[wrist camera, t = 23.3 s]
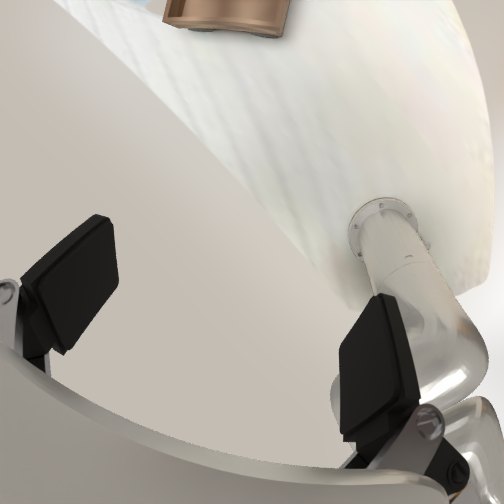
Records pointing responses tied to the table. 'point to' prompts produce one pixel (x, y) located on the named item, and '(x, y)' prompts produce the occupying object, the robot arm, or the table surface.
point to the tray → (229, 15)
